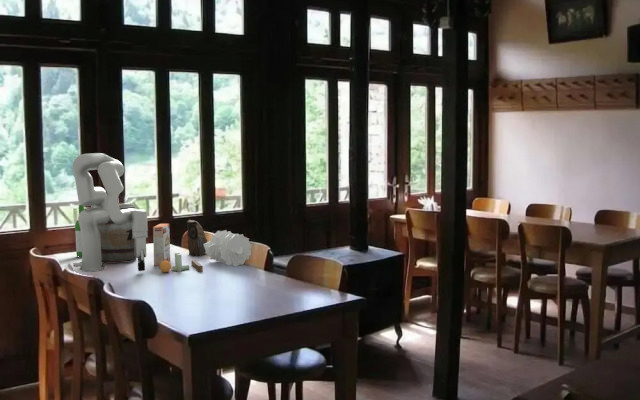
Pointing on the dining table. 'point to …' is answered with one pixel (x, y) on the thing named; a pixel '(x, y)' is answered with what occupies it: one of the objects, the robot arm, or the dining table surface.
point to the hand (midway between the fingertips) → (141, 270)
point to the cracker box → (161, 243)
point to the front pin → (184, 267)
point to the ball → (165, 266)
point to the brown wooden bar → (197, 265)
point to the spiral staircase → (228, 248)
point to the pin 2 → (179, 263)
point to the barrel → (117, 241)
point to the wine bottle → (78, 234)
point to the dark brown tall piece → (196, 239)
